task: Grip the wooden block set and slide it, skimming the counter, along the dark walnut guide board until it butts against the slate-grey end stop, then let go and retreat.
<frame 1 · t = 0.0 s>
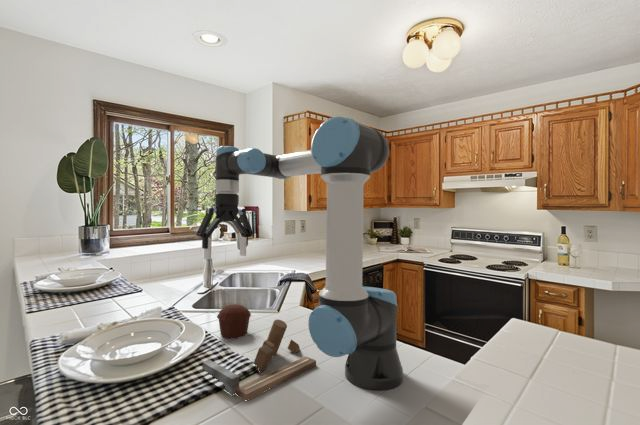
hand: (226, 257, 109), 28 cm above the table, fingers open, 13 cm apart
wooden block set: (273, 360, 96), on the table
muffin: (233, 334, 116), on the table
guide board: (279, 378, 84), on the table
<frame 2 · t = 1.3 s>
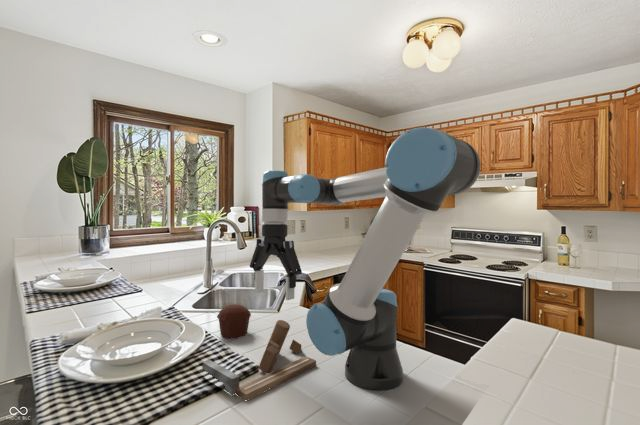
hand: (273, 295, 97), 18 cm above the table, fingers open, 13 cm apart
wooden block set: (277, 360, 96), on the table
everything else where it was.
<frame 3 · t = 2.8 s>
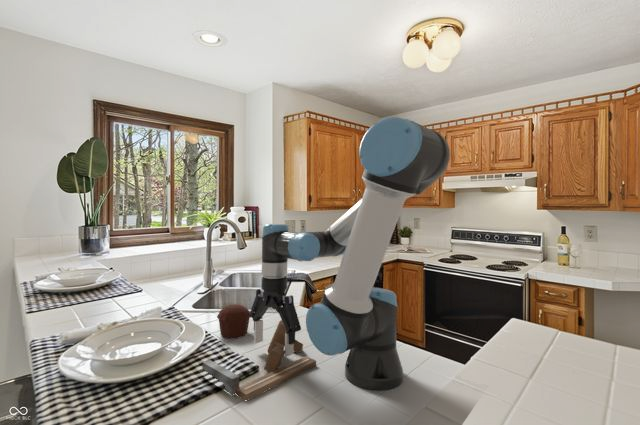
hand: (273, 348, 97), 3 cm above the table, fingers open, 13 cm apart
wooden block set: (280, 361, 96), on the table, touching gripper
everything else where it was.
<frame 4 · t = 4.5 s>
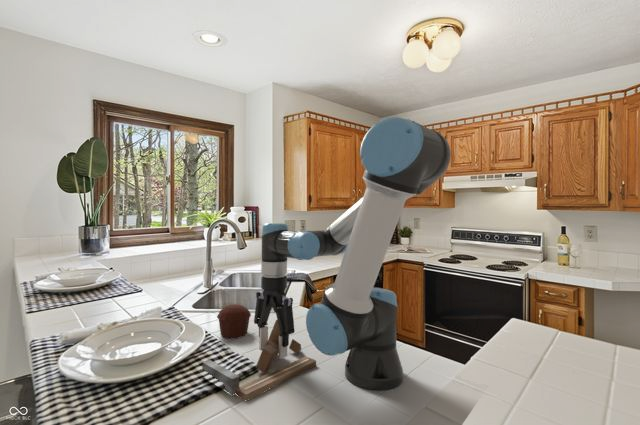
hand: (273, 352, 96), 2 cm above the table, fingers closed on wooden block set, 8 cm apart
wooden block set: (275, 360, 95), on the table, touching gripper
everything else where it was.
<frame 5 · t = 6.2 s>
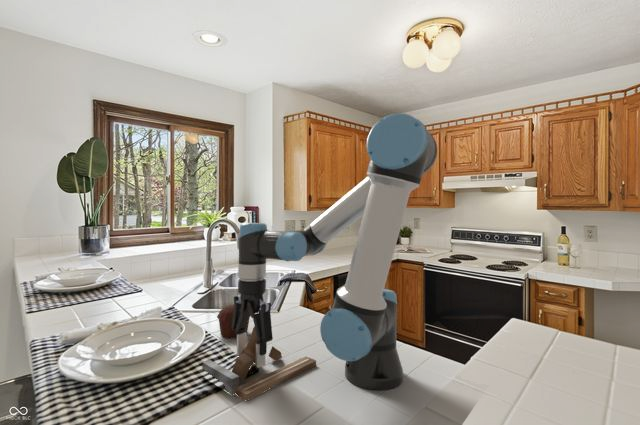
hand: (250, 361, 91), 2 cm above the table, fingers closed on wooden block set, 8 cm apart
wooden block set: (253, 369, 89), on the table, touching gripper
everything else where it was.
when the fingers open (1 cm above the table, at t = 7.8 s): wooden block set stays where it is, on the table.
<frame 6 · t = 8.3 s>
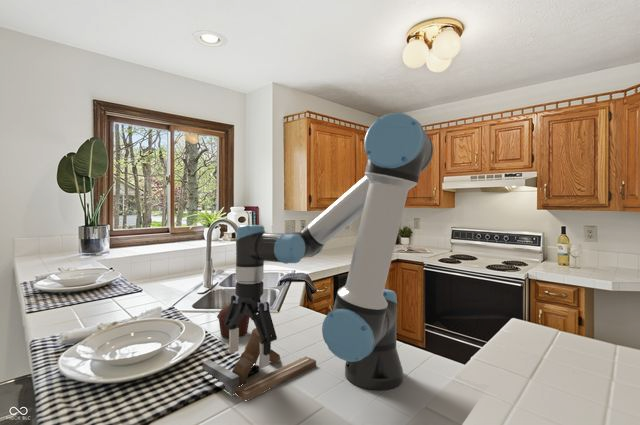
hand: (248, 358, 90), 3 cm above the table, fingers open, 13 cm apart
wooden block set: (252, 372, 88), on the table
everything else where it was.
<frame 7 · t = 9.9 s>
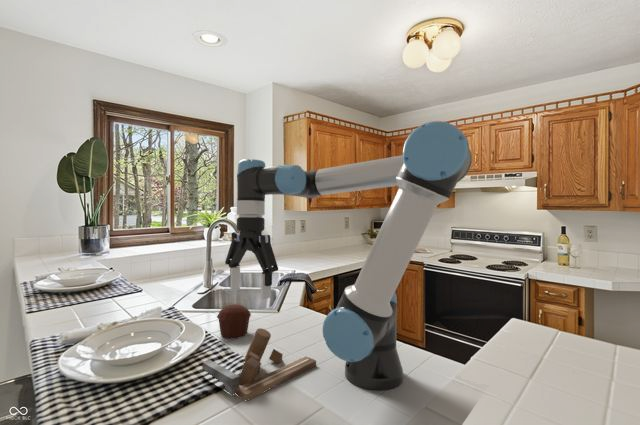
hand: (249, 294, 90), 20 cm above the table, fingers open, 13 cm apart
wooden block set: (256, 373, 88), on the table
everything else where it was.
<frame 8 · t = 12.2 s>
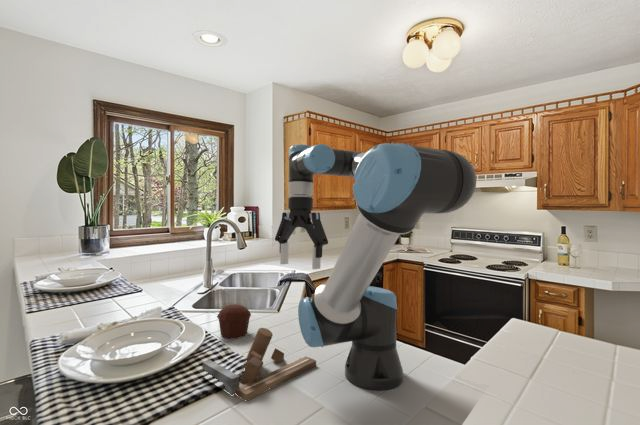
hand: (299, 266, 100), 27 cm above the table, fingers open, 13 cm apart
nothing on the table moved.
at the end: wooden block set 3.4 cm from the target spot, on the table; wooden block set tilted 0°; the gripper is holding nothing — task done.
